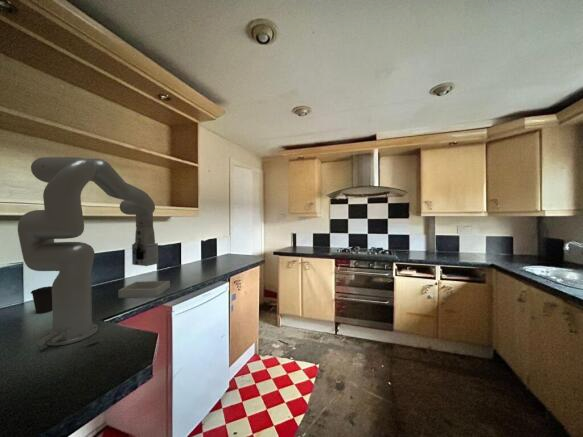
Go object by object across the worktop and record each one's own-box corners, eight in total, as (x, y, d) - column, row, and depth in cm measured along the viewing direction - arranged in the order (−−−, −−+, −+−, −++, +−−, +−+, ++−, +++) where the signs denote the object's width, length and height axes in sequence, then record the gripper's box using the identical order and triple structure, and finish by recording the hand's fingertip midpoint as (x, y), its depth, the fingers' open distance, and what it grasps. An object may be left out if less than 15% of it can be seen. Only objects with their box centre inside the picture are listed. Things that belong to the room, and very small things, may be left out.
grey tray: (156, 297, 112) (156, 289, 112) (118, 298, 111) (118, 290, 111) (169, 288, 126) (169, 280, 126) (136, 288, 125) (136, 281, 125)
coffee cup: (25, 316, 91) (24, 291, 91) (39, 308, 99) (39, 285, 99) (51, 313, 94) (50, 289, 94) (63, 306, 102) (63, 283, 102)
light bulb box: (131, 265, 117) (131, 244, 117) (144, 262, 123) (143, 242, 123) (147, 266, 113) (146, 244, 113) (158, 263, 120) (158, 243, 119)
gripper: (142, 225, 109) (142, 261, 110) (160, 223, 127) (161, 254, 127) (125, 225, 109) (126, 261, 109) (146, 223, 126) (147, 254, 127)
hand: (145, 257), depth 118 cm, fingers closed on light bulb box, 8 cm apart
